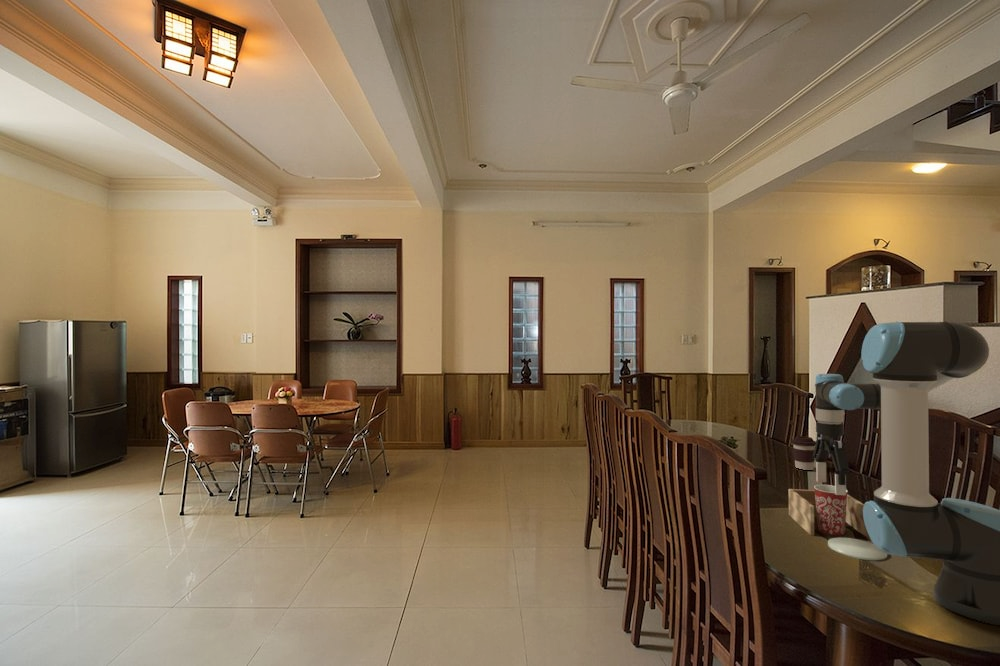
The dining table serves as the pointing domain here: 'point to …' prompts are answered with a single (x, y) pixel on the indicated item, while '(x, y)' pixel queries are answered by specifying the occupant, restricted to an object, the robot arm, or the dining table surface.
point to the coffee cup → (804, 452)
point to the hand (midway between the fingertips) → (830, 488)
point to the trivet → (856, 549)
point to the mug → (830, 510)
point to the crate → (805, 511)
